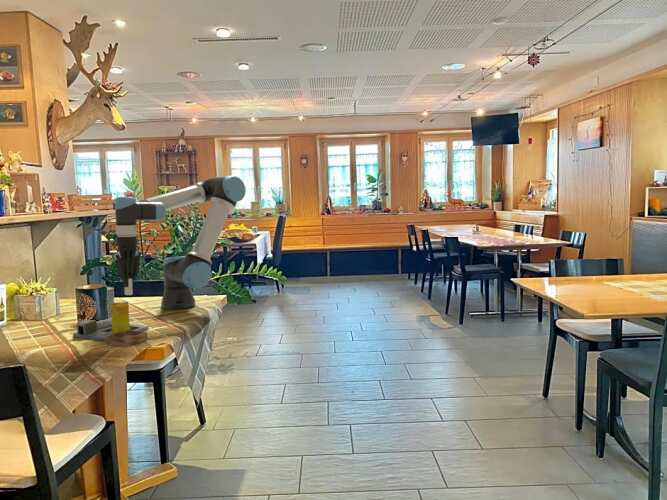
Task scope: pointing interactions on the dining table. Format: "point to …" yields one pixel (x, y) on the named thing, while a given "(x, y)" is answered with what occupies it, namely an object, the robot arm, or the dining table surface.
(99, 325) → the drift key
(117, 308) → the supplement box
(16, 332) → the dining table surface
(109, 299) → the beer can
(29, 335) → the dining table surface
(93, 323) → the socket block
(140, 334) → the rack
